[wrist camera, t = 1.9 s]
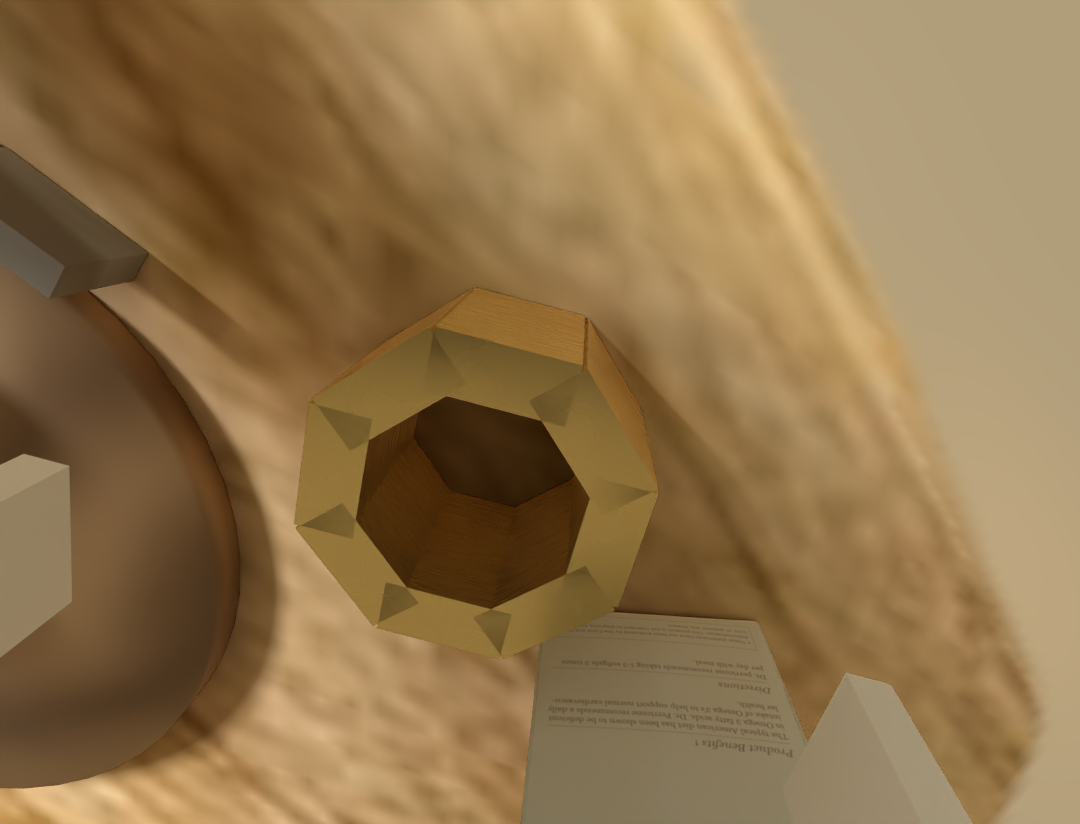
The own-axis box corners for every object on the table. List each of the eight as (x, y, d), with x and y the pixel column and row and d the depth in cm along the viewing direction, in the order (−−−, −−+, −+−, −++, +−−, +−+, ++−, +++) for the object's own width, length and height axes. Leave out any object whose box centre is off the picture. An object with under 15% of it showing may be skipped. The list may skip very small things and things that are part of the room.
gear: (321, 380, 19) (230, 447, 14) (545, 243, 17) (527, 267, 12) (463, 577, 21) (426, 692, 16) (678, 474, 19) (706, 571, 14)
